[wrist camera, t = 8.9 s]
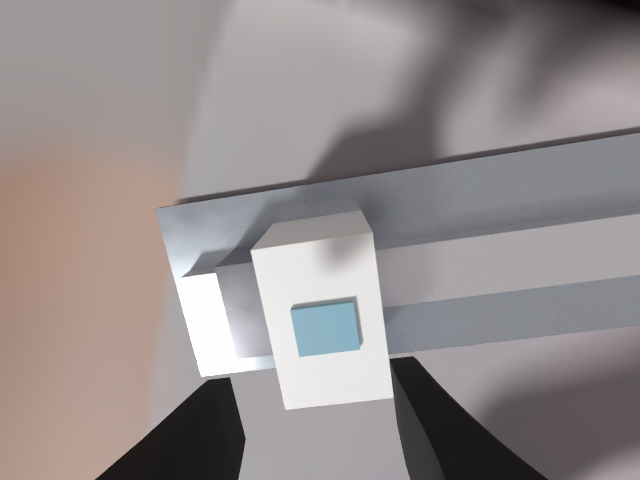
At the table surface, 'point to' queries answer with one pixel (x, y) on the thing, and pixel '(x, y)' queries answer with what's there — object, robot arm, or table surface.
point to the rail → (435, 250)
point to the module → (324, 310)
